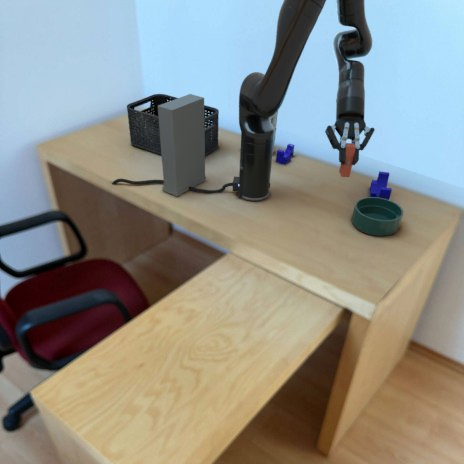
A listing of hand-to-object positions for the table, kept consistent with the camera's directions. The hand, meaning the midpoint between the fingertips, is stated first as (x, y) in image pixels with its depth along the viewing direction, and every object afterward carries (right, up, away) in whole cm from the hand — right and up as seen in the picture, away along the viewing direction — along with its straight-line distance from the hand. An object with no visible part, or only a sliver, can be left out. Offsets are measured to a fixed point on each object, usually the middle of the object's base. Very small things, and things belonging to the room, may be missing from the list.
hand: (348, 163), depth 120 cm
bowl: (+8, -16, +4) cm, 18 cm away
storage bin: (-53, +19, +39) cm, 69 cm away
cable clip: (+13, -6, +15) cm, 21 cm away
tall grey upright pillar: (-47, -1, +17) cm, 50 cm away
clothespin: (0, -2, +4) cm, 5 cm away
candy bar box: (-23, +17, +38) cm, 48 cm away
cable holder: (-13, +13, +34) cm, 38 cm away
